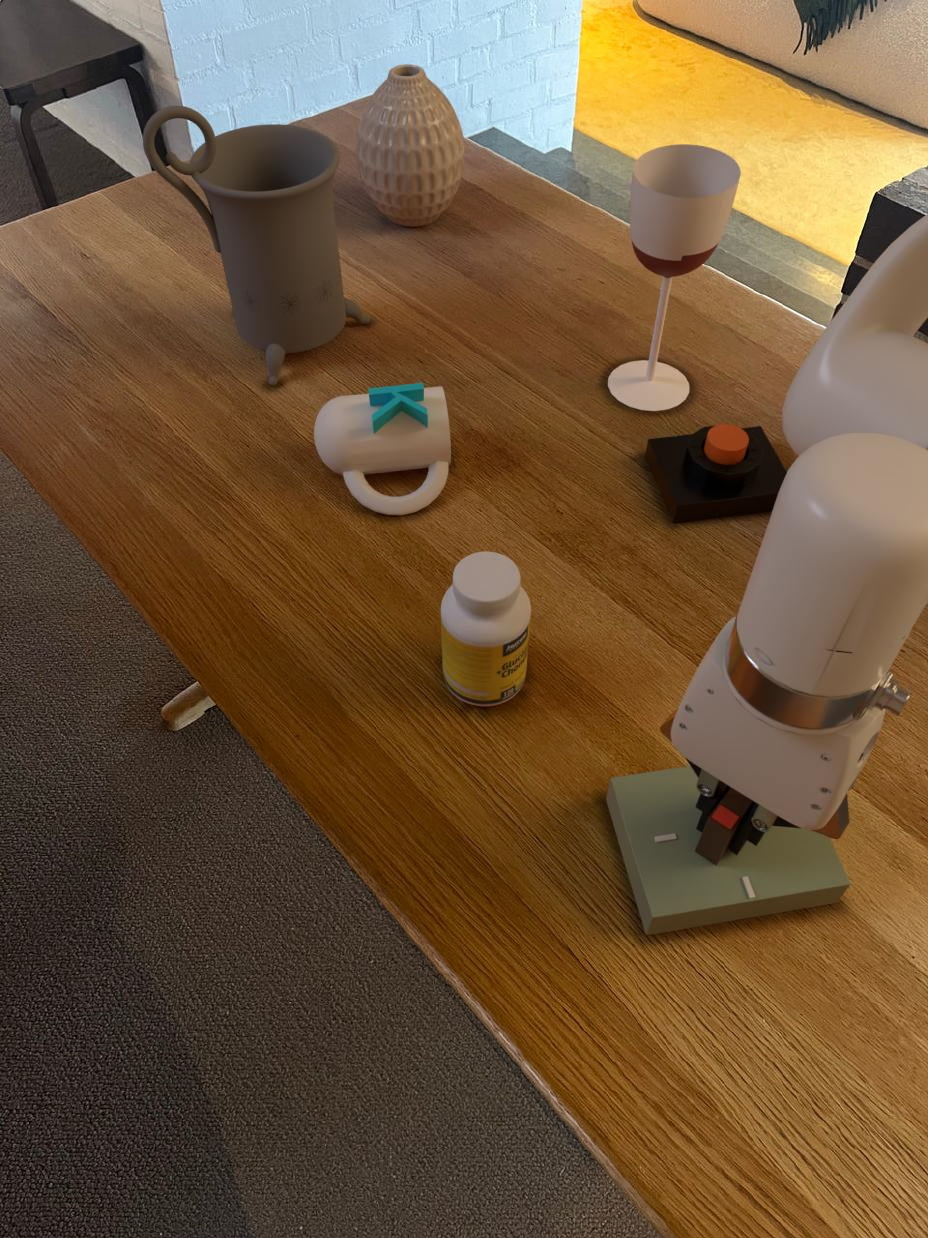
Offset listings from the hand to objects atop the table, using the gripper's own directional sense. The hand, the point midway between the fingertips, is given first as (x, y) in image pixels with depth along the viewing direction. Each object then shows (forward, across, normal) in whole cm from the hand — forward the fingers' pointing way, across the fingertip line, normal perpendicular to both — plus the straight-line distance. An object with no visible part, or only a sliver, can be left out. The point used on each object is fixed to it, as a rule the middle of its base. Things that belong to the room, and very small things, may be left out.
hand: (727, 825), depth 63 cm
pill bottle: (+4, +21, -2) cm, 22 cm away
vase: (+4, +72, -52) cm, 89 cm away
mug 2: (+4, +43, -14) cm, 45 cm away
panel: (+3, 0, 0) cm, 3 cm away
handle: (0, 0, 0) cm, 0 cm away
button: (0, +18, -32) cm, 37 cm away
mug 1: (+4, +65, -23) cm, 69 cm away
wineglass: (+4, +31, -41) cm, 51 cm away
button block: (+3, +18, -32) cm, 37 cm away
